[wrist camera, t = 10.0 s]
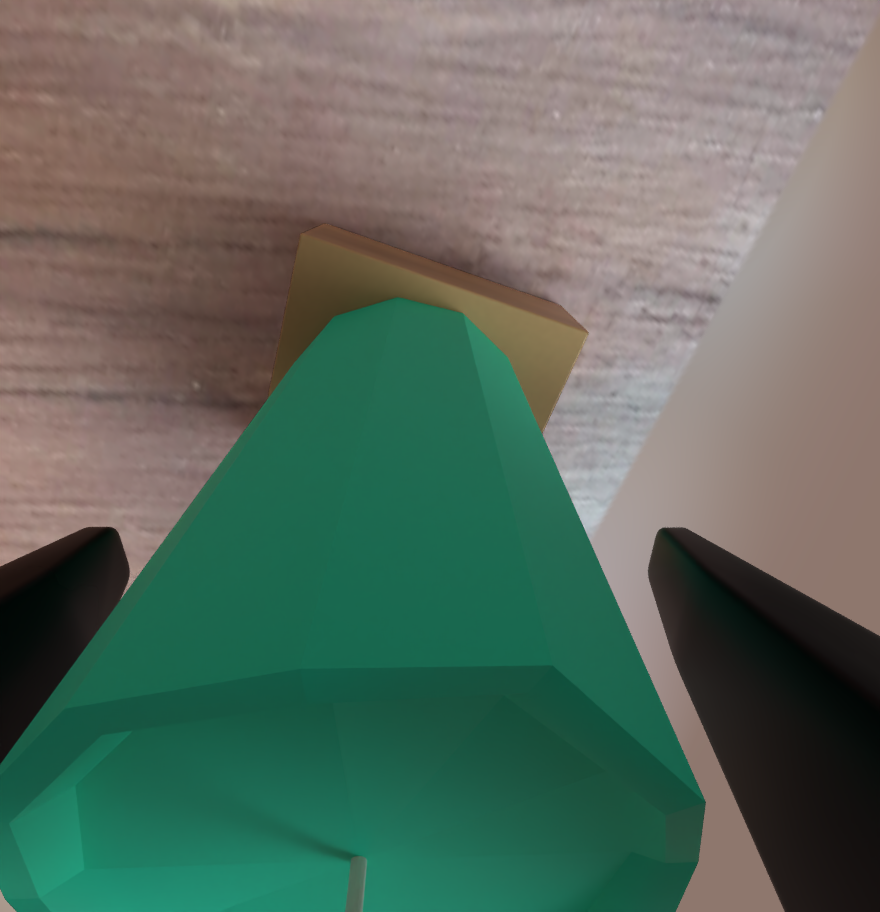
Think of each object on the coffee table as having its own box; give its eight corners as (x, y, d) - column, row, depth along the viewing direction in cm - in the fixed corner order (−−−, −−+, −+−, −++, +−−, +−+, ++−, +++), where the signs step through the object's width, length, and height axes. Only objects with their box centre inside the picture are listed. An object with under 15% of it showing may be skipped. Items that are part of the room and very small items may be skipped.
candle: (449, 545, 16) (493, 1345, 5) (251, 459, 14) (-292, 1320, 3) (568, 372, 13) (1157, 1186, 3) (344, 246, 12) (-471, 911, 1)
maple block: (477, 501, 18) (486, 556, 16) (275, 445, 17) (247, 493, 15) (562, 305, 15) (590, 332, 13) (323, 222, 14) (300, 232, 12)
